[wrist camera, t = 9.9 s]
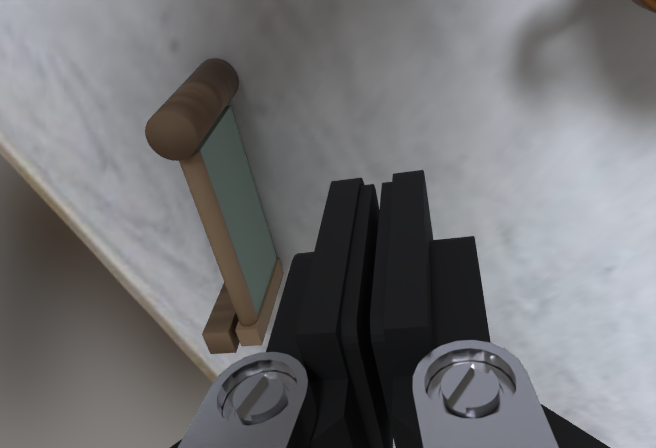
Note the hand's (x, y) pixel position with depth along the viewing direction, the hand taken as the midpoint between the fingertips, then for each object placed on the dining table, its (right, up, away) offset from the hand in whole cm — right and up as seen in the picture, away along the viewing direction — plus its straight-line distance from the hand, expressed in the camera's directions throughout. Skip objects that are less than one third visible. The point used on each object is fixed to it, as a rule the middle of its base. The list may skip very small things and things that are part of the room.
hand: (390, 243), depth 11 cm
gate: (-7, +2, +34) cm, 35 cm away
